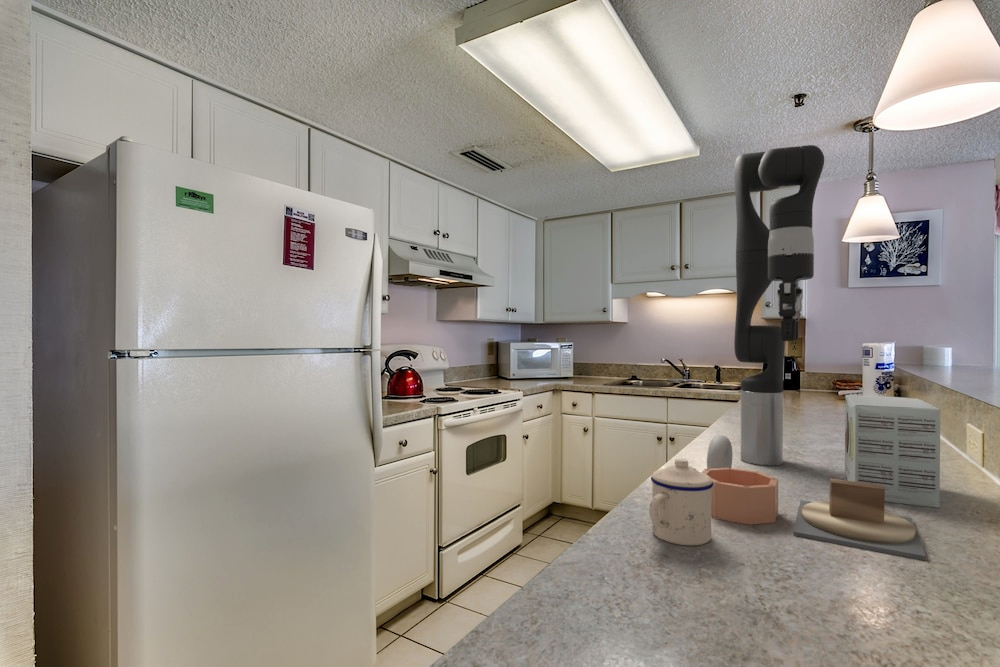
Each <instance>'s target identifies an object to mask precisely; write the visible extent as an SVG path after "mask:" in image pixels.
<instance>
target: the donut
mask: <svg viewBox="0 0 1000 667" xmlns="http://www.w3.org/2000/svg"><path fill="white" fill-rule="evenodd" d="M732 466H733V446H732V442H731V440H730V438H729V437H728V436H726V435H723V434H718V435H714V437H713V438H712V439H711V440H710V442H709V446H708V448H707V455H706V469H713V468H733V467H732Z"/></svg>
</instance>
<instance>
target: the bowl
mask: <svg viewBox="0 0 1000 667" xmlns="http://www.w3.org/2000/svg"><path fill="white" fill-rule="evenodd" d="M700 472H701V473H704V474H706V475H708V476H709V477H710V478H711V479H712V482H713V486H712V487H711V518H714V519H718V520H721V521H728V522H733V523H737V524H743V525H748V526H749V525H759V524H772V523H775V524H776V520H777V516H778V514H779V479H778V478H775V477H773V476H770V475H768V474H766V473H763V472H760V471H756V470H749V469H741V468H736V467H735V468H734V467H731V468H713V469H707V468H704V469H703V470H702V471H700Z"/></svg>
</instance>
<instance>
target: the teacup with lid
mask: <svg viewBox="0 0 1000 667" xmlns="http://www.w3.org/2000/svg"><path fill="white" fill-rule="evenodd" d="M701 472H702V471H698V470H697V469H696V468H694V467H693V466H689V461H688V460H687V459H684V458H676V459H675V460H674V464H671V465H668V466H666V467H665V468H660V469H658V470H655V471H654V472H653V473H652V474H651V477H650V480H651V482H652V491H651V492H652V495H651V496H652V498H651V501H650V503H649V517H650V521H651V526H652V527H651V530H652V533H653V534H654V535H655V537H656V538H658V539H660V540H661V541H664V542H667V543H671V544H674V545H681V546H700V545H705V544H706V543H708V542H710V541H711V539H712V516H711V487H712V486H713V482H712V479H711V478H710V477H709V476H708V475H706V474H704V473H701Z"/></svg>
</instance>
